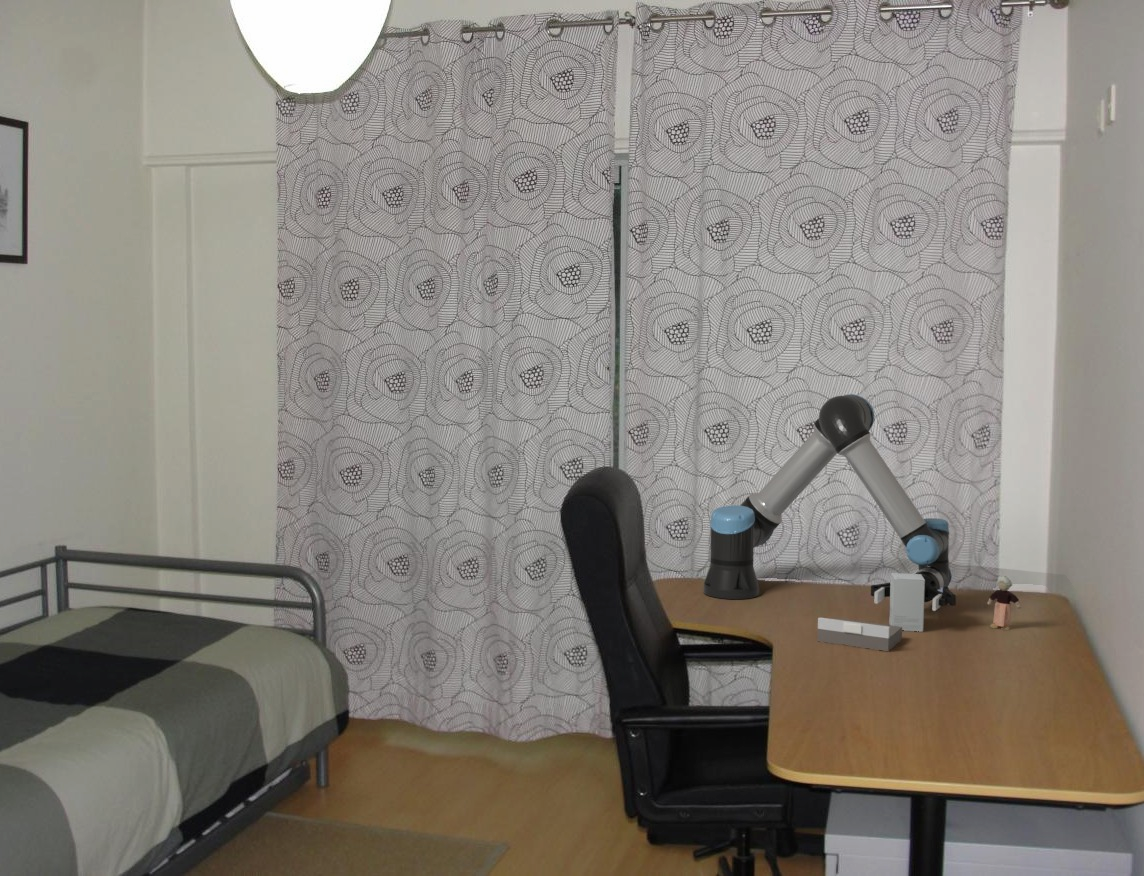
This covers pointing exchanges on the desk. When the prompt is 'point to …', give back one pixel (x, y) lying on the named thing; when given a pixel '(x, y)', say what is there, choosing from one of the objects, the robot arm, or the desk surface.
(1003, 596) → the grandmother figurine
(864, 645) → the shelf board
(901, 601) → the supplement box
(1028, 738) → the desk surface
